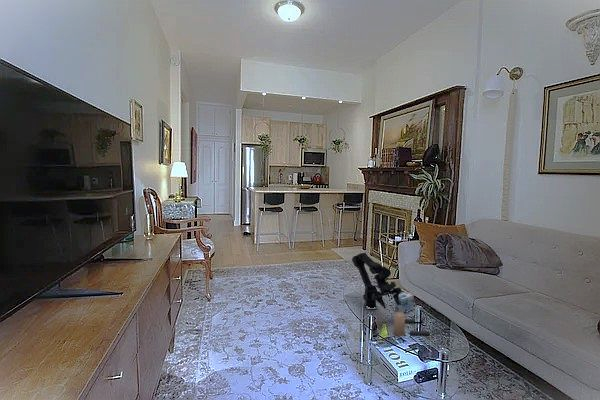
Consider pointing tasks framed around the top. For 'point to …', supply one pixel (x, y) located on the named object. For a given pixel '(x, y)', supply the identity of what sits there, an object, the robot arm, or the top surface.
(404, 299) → the light bulb box
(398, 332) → the terracotta jar
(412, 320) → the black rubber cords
